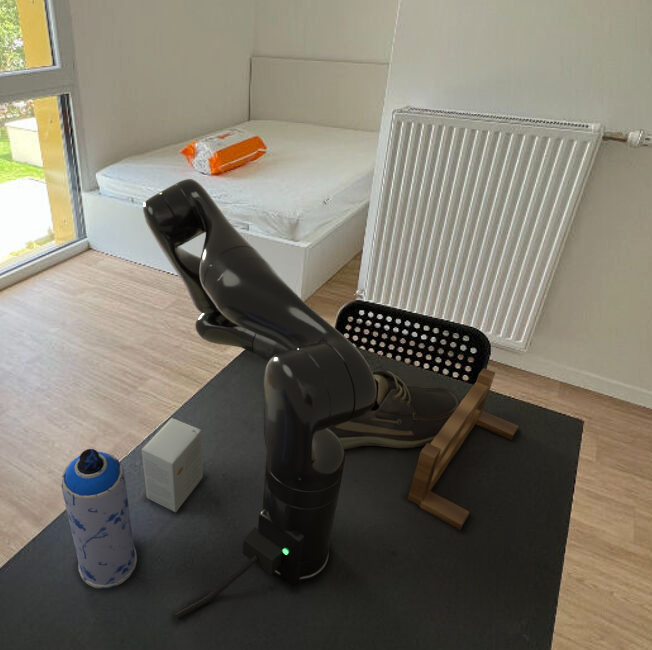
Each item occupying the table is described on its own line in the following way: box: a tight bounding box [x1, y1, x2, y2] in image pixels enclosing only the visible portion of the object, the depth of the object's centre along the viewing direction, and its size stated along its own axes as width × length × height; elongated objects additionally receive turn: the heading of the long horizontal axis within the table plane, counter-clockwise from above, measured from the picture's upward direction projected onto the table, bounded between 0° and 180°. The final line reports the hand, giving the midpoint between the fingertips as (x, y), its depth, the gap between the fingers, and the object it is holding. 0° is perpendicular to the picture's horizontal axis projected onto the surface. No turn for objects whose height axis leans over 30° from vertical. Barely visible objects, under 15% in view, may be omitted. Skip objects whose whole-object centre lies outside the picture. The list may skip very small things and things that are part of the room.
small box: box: [141, 417, 204, 513], centre depth 80 cm, size 8×6×10 cm
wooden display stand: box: [407, 367, 519, 531], centre depth 84 cm, size 27×8×10 cm, turn 138°
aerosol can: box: [60, 448, 138, 590], centre depth 67 cm, size 8×8×20 cm
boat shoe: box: [328, 369, 462, 451], centre depth 91 cm, size 11×29×11 cm, turn 102°
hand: (362, 382), depth 94 cm, fingers closed
